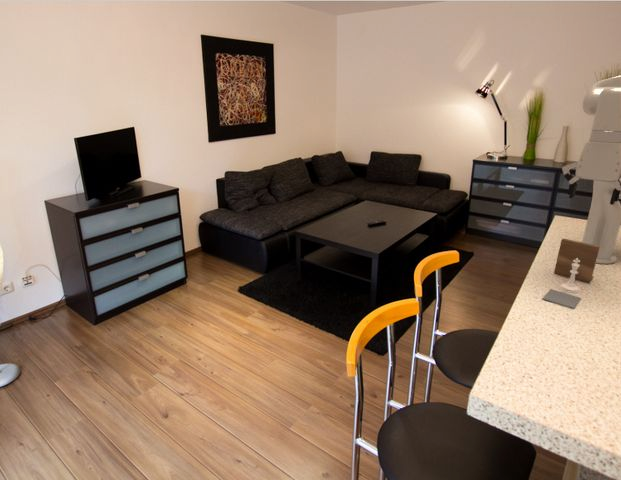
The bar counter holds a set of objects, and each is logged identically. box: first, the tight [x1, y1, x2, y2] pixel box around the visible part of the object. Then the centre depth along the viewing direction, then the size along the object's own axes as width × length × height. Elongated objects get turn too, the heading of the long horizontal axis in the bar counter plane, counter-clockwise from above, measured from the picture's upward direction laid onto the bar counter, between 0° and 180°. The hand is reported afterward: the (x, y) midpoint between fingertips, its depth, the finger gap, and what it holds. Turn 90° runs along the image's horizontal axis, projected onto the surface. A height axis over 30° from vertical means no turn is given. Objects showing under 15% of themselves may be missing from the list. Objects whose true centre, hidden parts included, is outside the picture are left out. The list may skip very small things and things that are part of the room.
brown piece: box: [553, 238, 600, 285], centre depth 129 cm, size 5×10×12 cm, turn 46°
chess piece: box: [560, 258, 580, 294], centre depth 121 cm, size 5×5×10 cm
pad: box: [541, 288, 582, 310], centre depth 117 cm, size 8×8×1 cm
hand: (591, 200), depth 114 cm, fingers open, 9 cm apart
